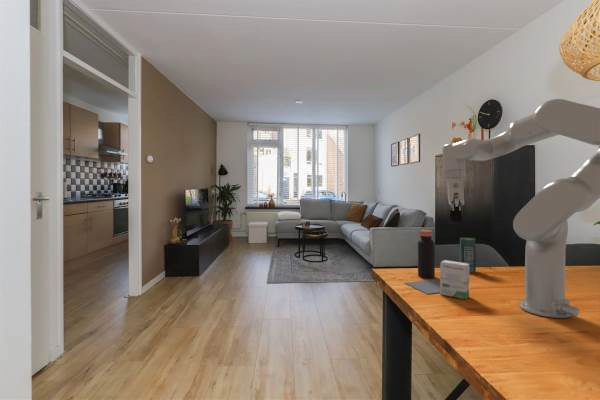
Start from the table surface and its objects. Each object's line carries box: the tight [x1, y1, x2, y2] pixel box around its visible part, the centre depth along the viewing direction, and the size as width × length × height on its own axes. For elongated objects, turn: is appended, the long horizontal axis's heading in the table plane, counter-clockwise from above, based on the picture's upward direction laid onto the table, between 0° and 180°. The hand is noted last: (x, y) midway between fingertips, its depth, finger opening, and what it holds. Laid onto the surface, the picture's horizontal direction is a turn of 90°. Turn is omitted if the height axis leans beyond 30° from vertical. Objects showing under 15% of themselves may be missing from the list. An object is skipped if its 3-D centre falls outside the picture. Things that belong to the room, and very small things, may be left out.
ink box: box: [439, 259, 470, 301], centre depth 106 cm, size 8×5×12 cm, turn 50°
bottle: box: [417, 229, 436, 279], centre depth 131 cm, size 7×7×20 cm
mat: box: [404, 278, 440, 295], centre depth 117 cm, size 14×16×1 cm
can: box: [459, 237, 477, 273], centre depth 140 cm, size 6×6×15 cm
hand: (455, 220), depth 115 cm, fingers open, 9 cm apart
